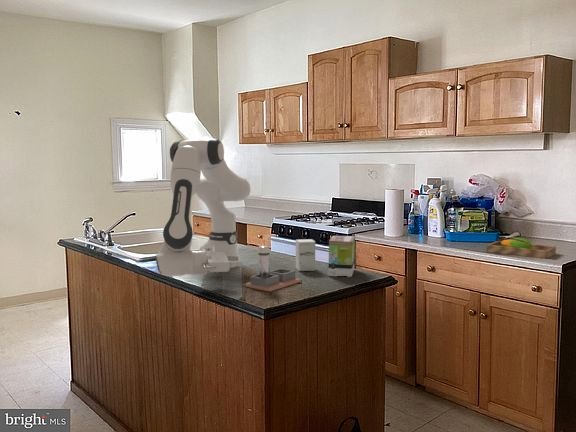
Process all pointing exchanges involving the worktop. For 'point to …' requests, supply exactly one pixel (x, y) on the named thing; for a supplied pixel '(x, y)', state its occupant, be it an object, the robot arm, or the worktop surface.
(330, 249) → the tea box
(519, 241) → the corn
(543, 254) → the wooden tray
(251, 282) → the grey double cup holder
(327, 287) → the worktop surface
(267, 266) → the grey capped bottle
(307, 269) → the supplement box
